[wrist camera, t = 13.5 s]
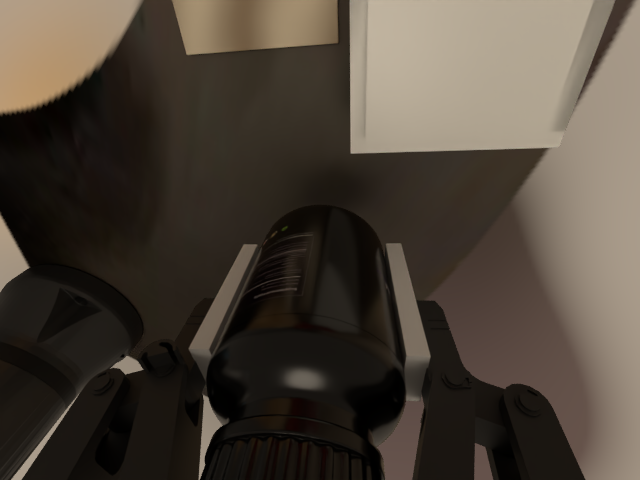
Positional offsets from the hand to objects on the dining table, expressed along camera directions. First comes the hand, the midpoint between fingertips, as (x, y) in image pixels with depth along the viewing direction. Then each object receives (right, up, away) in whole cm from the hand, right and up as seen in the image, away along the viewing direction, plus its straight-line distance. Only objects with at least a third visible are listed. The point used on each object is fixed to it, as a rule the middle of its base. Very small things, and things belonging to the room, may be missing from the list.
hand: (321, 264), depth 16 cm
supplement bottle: (0, +1, +1) cm, 1 cm away
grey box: (+6, +14, +2) cm, 15 cm away
